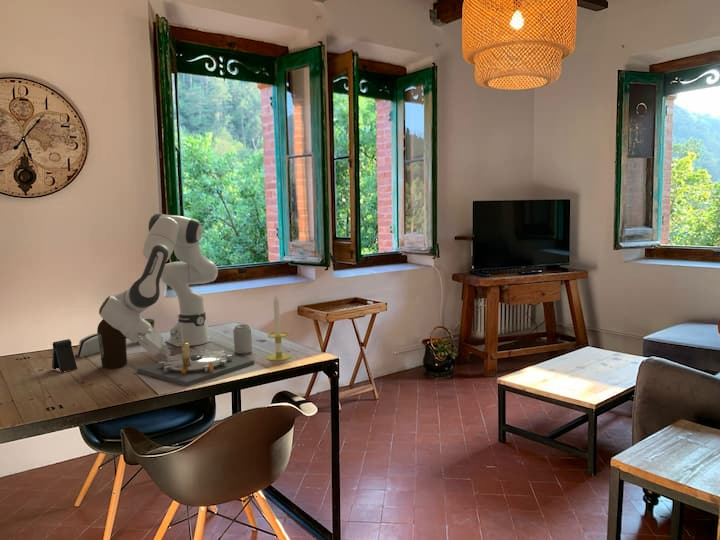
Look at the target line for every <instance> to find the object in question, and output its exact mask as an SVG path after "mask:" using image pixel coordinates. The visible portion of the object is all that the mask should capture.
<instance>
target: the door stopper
mask: <svg viewBox="0 0 720 540" xmlns="http://www.w3.org/2000/svg"><path fill="white" fill-rule="evenodd" d="M72 345H73V344H72V340H71V339H63V340H58V341H54V342H52V362H51V369H52V368H53V369H56V368H59V369H60V371H61V372H64V371H68V370H73V371H75V370H74V369H77V370H78V366H77V363H76V358H75V353H74V351H73V346H72Z"/></svg>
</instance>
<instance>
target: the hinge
mask: <svg viewBox="0 0 720 540" xmlns="http://www.w3.org/2000/svg"><path fill="white" fill-rule="evenodd" d="M98 353H99V354H100V347H99V340H98V334H97V332H96V333H92V334H90V335H86V336H85V337H83V338H81V339H80V340H79V344H78V347H77V351H75V352H74V357H77V356H79V357H80V358H83V357H84V356H85V357H88V356H92V355H95V354H98Z"/></svg>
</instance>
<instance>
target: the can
mask: <svg viewBox="0 0 720 540" xmlns="http://www.w3.org/2000/svg"><path fill="white" fill-rule="evenodd" d="M252 343H253V341H252V328H251V327H250V325H249V324H243V323H241V324H236V325H234V329H233V344H234V345H233V348H234V352H235V353H236V354H237V355H246V354H250V353H251V351H253V346H252V345H253V344H252Z"/></svg>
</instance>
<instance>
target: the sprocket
mask: <svg viewBox="0 0 720 540" xmlns="http://www.w3.org/2000/svg"><path fill="white" fill-rule="evenodd" d="M180 347H181V353H180V354H175V355H169V356H168V357H167V356H165V357H166V358H165V360H162V361H163V362H162V361H158V363H159V368H164V372H165V373H168V372H178V373H182V374H187V373H190V372H200V371H205V372H208V371H209V362H213V369H214V368H217V367H220V366H223V367H225V366H227V361H231V360H232V356H233V355H232V354H226V350H220V351H217V350H216V351H215V350H210V349H203V350H204V351H202V350H197V351H190V346H189V342H184V343H181V346H180Z"/></svg>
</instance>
